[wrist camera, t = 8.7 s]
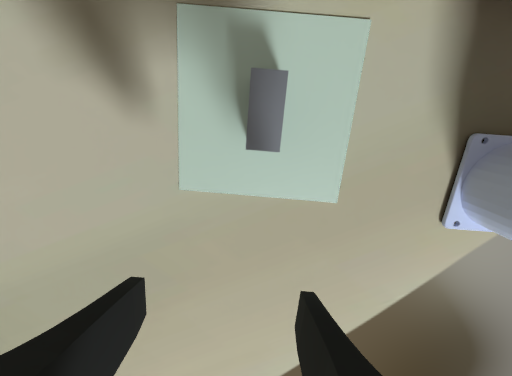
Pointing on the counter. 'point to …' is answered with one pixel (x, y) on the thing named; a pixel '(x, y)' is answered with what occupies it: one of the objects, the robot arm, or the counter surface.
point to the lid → (266, 100)
